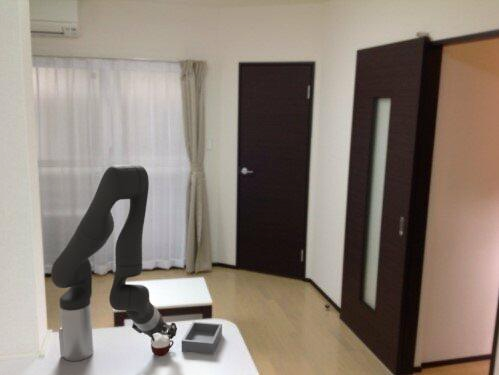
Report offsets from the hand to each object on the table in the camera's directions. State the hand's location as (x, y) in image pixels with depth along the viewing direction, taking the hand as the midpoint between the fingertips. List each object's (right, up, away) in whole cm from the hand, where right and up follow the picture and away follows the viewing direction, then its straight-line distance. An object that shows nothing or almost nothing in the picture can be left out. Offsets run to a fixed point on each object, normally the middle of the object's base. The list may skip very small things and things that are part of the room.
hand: (161, 335), depth 156 cm
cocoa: (0, -6, 0) cm, 6 cm away
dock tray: (+13, -5, +6) cm, 15 cm away
